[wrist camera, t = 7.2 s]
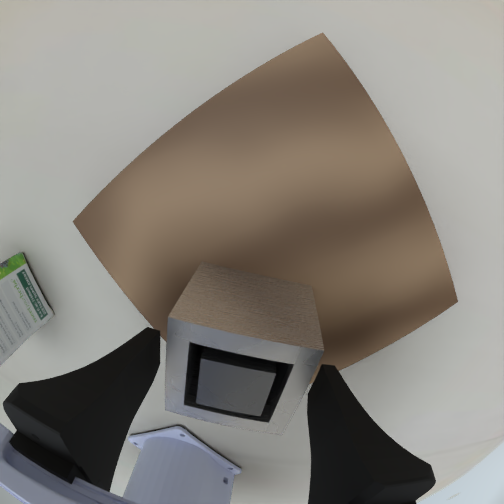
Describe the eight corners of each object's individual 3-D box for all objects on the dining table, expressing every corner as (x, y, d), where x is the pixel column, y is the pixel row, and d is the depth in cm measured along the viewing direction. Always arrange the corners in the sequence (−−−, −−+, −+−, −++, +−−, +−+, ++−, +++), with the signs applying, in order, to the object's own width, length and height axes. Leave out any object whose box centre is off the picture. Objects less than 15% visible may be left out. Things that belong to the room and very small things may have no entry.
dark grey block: (277, 305, 15) (276, 373, 10) (266, 346, 16) (260, 416, 11) (223, 294, 15) (201, 358, 10) (216, 336, 16) (196, 403, 11)
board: (447, 290, 15) (458, 301, 14) (238, 395, 19) (236, 411, 18) (318, 42, 11) (322, 32, 10) (86, 214, 16) (72, 221, 14)
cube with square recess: (311, 285, 14) (324, 350, 10) (283, 366, 16) (282, 435, 12) (201, 261, 14) (168, 316, 10) (191, 346, 16) (165, 410, 12)
